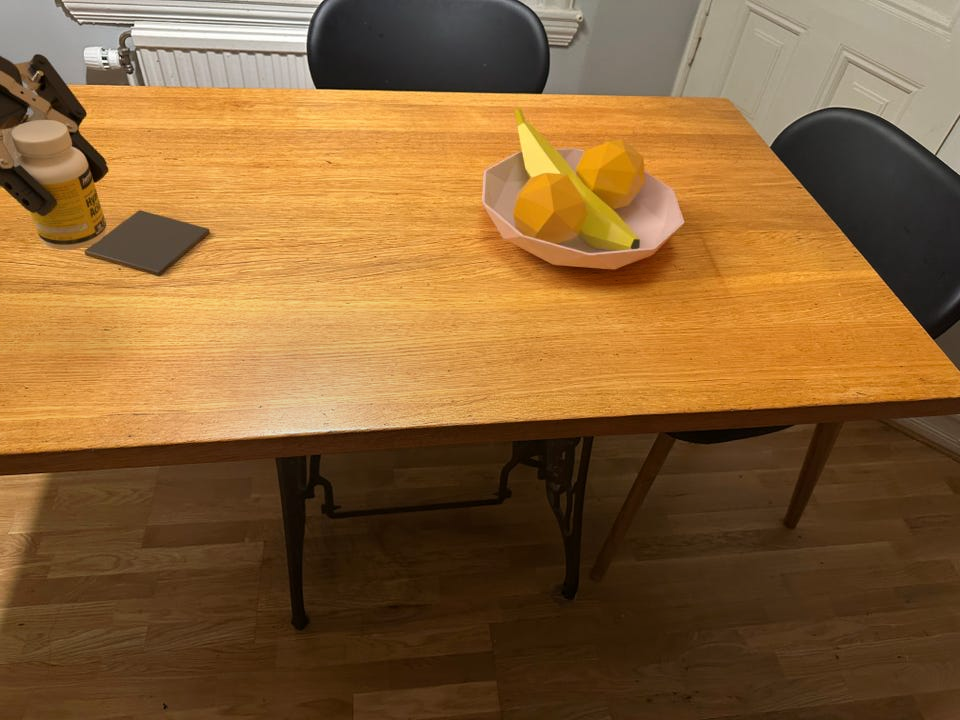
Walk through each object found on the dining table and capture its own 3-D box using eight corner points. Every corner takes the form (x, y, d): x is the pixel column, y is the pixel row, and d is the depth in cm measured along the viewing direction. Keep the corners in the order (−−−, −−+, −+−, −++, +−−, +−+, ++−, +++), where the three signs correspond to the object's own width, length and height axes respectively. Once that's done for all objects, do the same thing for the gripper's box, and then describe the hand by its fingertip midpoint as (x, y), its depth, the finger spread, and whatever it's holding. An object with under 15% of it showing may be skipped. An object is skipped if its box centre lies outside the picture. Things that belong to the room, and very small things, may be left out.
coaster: (159, 276, 80) (158, 272, 80) (85, 254, 82) (83, 250, 81) (210, 232, 87) (209, 228, 87) (140, 213, 89) (139, 209, 88)
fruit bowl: (707, 280, 89) (737, 203, 82) (507, 302, 82) (519, 220, 74) (617, 173, 108) (635, 102, 101) (449, 183, 101) (454, 108, 94)
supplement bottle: (111, 246, 61) (78, 142, 54) (41, 257, 59) (-2, 150, 52) (106, 214, 65) (74, 112, 58) (40, 223, 63) (-1, 118, 56)
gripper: (-194, 9, 45) (28, 214, 51) (-14, -41, 55) (152, 135, 61) (-211, 74, 49) (-5, 256, 56) (-42, 16, 59) (116, 176, 66)
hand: (77, 192), depth 58 cm, fingers closed on supplement bottle, 5 cm apart
